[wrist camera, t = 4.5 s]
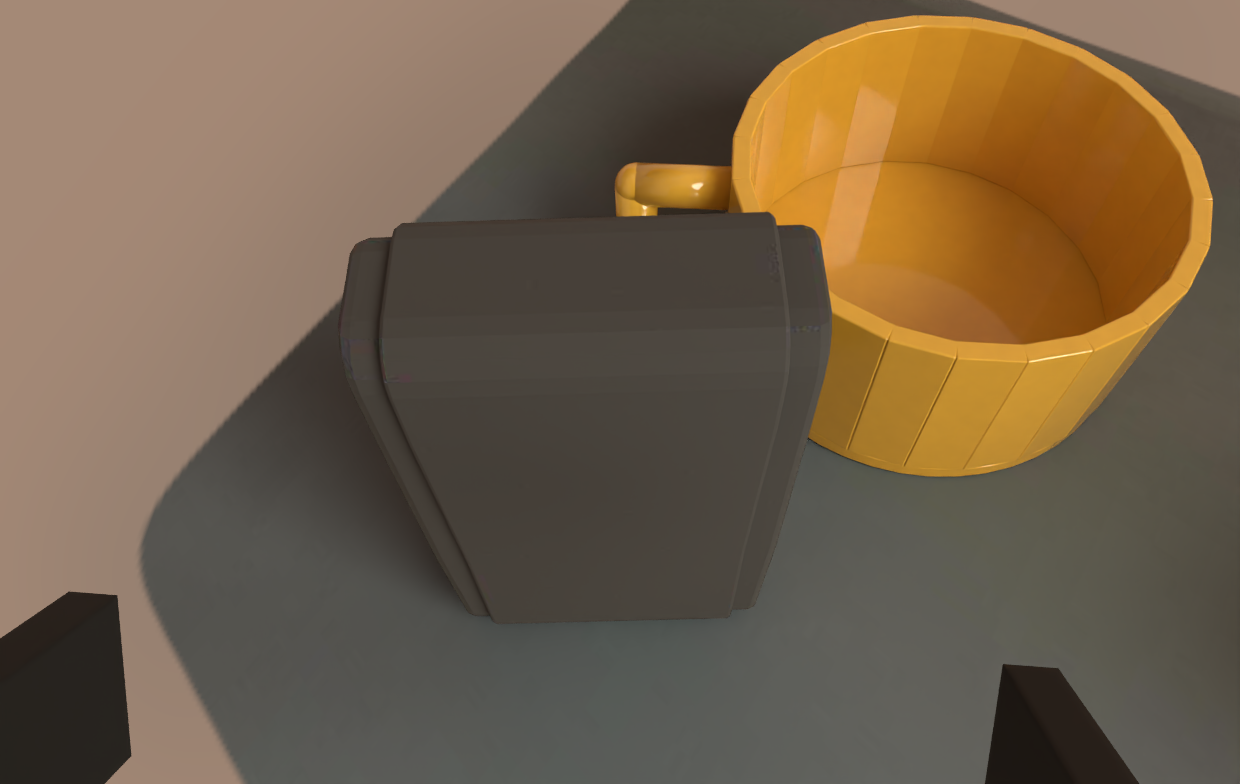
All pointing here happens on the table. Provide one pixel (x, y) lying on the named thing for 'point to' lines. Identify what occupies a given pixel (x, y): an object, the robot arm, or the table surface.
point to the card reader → (593, 403)
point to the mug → (963, 230)
